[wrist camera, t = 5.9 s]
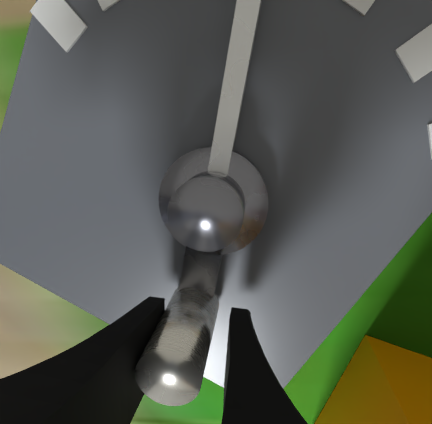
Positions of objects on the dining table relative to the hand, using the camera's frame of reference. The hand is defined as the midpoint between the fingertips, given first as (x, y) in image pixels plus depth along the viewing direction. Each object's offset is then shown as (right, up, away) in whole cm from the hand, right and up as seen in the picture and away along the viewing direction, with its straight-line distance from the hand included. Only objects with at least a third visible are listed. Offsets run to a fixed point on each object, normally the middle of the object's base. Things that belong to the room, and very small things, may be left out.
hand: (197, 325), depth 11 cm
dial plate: (+1, +7, +2) cm, 8 cm away
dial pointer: (+1, +6, 0) cm, 6 cm away
